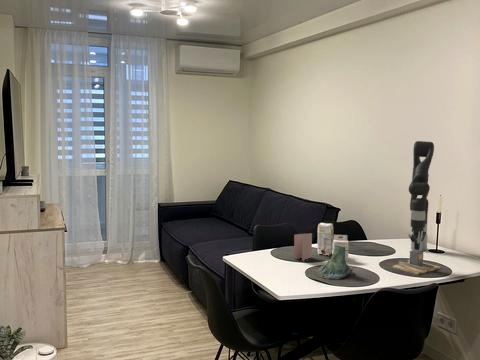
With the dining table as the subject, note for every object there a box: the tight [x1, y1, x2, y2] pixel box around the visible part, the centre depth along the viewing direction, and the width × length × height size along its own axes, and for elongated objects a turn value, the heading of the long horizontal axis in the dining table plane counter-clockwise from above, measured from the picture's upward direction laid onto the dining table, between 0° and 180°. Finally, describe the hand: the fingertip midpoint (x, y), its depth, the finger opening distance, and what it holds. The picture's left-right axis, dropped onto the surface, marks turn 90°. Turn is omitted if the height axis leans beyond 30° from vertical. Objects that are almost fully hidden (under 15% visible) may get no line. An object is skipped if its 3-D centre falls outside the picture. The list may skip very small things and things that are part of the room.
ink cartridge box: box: [332, 234, 350, 262], centre depth 272 cm, size 9×5×15 cm, turn 84°
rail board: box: [392, 258, 441, 276], centre depth 256 cm, size 20×16×2 cm
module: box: [409, 249, 424, 267], centre depth 255 cm, size 5×5×8 cm
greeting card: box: [293, 232, 313, 262], centre depth 272 cm, size 11×7×15 cm, turn 108°
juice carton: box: [316, 222, 334, 257], centre depth 285 cm, size 8×9×19 cm
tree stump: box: [317, 245, 354, 279], centre depth 246 cm, size 18×20×18 cm
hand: (416, 249), depth 255 cm, fingers closed
